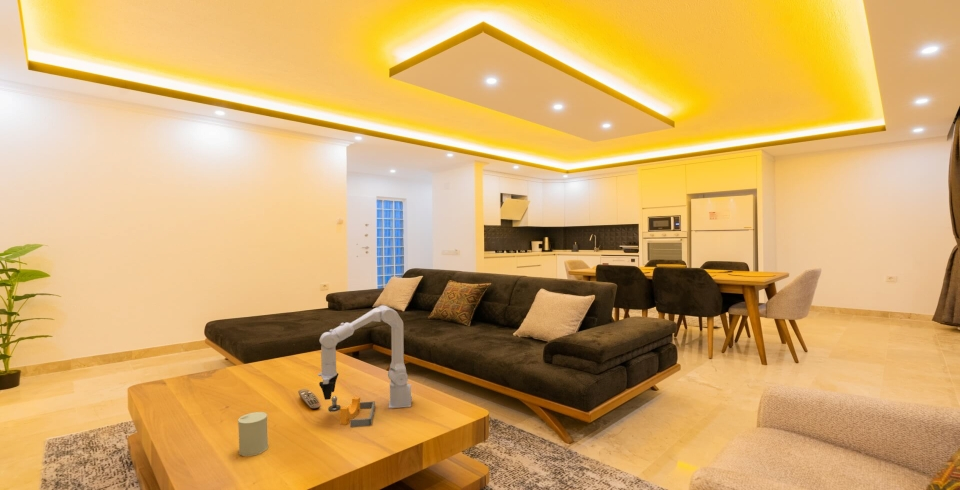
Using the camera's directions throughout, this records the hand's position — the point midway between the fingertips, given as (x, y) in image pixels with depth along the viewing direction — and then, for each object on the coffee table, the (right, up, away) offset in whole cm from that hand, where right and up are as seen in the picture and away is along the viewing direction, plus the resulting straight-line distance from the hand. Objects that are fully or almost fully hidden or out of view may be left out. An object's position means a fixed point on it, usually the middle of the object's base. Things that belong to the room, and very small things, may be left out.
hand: (329, 395), depth 177 cm
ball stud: (-1, -9, +10) cm, 14 cm away
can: (-18, -11, -24) cm, 32 cm away
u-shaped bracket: (+13, -9, +2) cm, 16 cm away
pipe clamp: (+7, -10, +1) cm, 12 cm away
